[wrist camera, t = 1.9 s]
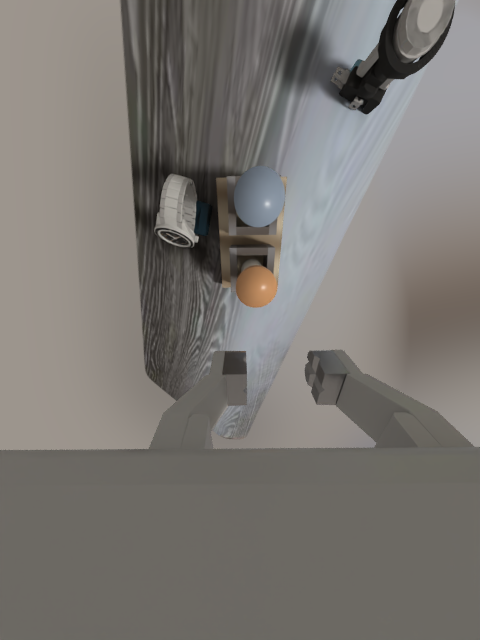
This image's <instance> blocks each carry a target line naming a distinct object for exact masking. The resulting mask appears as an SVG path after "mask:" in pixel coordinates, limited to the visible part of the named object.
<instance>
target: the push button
mask: <svg viewBox="0 0 480 640" xmlns="http://www.w3.org/2000/svg"><path fill="white" fill-rule="evenodd" d="M403 7H404V9H403V11H402V13H401V14H400V15H399V17H398V18H397V16H398V14H399V12H400V10H401V9H402V8H403ZM454 8H455V0H397V1H396V3H395V4H394V6H393V8H392V10H391V12H390V15H389V17H388V20H387V23H386V25H385V26H384V28H383V30H382V32H381V35H380V40H379V43H378V44H377V46H376V47H375V48H374V50H373V51H372V52H371V54H370V55H369V56H368V58H367V59H366V60H365V61H362V60H360V59H359V60H357V61H356V63H355V64H354V66H353V67H352V68H351V70H350V71H349V70H348V69H346V70H344V69H342V68H340V67H339V66H338V67H337V69H336V72H335V73H334V74H333V76H332V79H331V82H332V83H334V84H336V85H338V88H340V89H341V91H340V93H339V94H340V96H342V97H344V98H346V99H348V100H349V101H351V102H352V103H351V104H350V105H349V108H351V109H353V110H356V109H357V108H358V107H359V106H360V107H362V108H363V109H362V112H363V113H365V114H369V113H370V112H371V111H372V110H373V109H374V108H376V107H377V106H378V105H379V104H380V102H381V100H382V98H383V96H384V94H385V92H386V90H387V88H388V87H389V85H390V83H391V82H392V81H393V80H394V79H404V78H406V77H407V76H409V75H411V74H413V73H415V72H417V71H419V70H420V69H421V68H423V67H424V66H425V65H426V64H427V63H428V62H429V61H430V60H431V59H432V58H433V57H434V56H435V55H436V53H437V52H438V50H439V49H440V47H441V45H442V44H443V42H444V40H445V38H446V36H447V34H448V31H449V29H450V26H451V23H452V19H453V15H454ZM420 56H421V57H420ZM418 57H420V59H419V60H418V61H417V62H415V63H413V62H414V61H415V60H416V59H417V58H418ZM339 71H341V75H339V74H338V72H339ZM335 77H336V78H337V81H335V80H334V78H335ZM352 105H355V106H356V107H352Z"/></svg>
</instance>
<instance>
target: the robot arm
mask: <svg viewBox="0 0 480 640" xmlns="http://www.w3.org/2000/svg"><path fill="white" fill-rule="evenodd" d="M307 358H308V360H309V362H308V363H307V364H306V367H305V377H306V381H307V383H308V385H309V386H311V387H312V391H311V393H312V395H313V397H314V399H315V402H316V404H317V405H336V406H337V407H338V408H339V409H340V410H341V411H342V412H343V413H344V414H345V415H347V416H348V417H349V418H350V419H351V420H352V421H353V422H354V423H355V424H357V425H358V426H359V427H360V428H361V429H362V430H363V431H364V432H365V433H366V434H368V435H369V436H370V437H371V438H372V439H373V440H374V441H375V442H376V445H375V447H374V448H280V449H279V448H265V449H213V444H212V437H211V431H212V430H213V428H214V427H215V425H216V424H217V422H218V421H219V419H220V418H221V416H222V415H223V413H224V412H225V410H226V409H227V407H228V406H236V405H247V366H246V351H215V352H214V354H213V359H212V364H211V368H210V373H209V375H206V376H204V377H203V378H202V379H201V380H200V381H199V382H198V383H197V384H196V385H194V386H193V387H192V388H191V389H190V390H189V391H188V392H187V393H185V394H184V395H183V396H182V397H181V398H180V399H179V400H178V401H177V402H175V403H174V404H173V405H172V406H171V407H170V408H169V409H168V410H166V411H165V412H164V413H163V415H162V418H161V420H160V423H159V425H158V428H157V430H156V433H155V435H154V437H153V440H152V442H151V445H150V447H149V449H131V450H130V449H124V450H122V449H120V450H119V449H118V450H0V640H480V447H474V446H473V445H472V444H471V443H470V442H469V441H468V440H467V439H466V438H465V437H464V436H463V435H462V434H460V432H458V431H457V430H456V429H455V428H454V427H453V426H452V425H451V424H450V423H449V422H448V421H447V420H446V419H445V418H444V417H443V416H442V415H440V414H439V413H438V412H437V411H435V410H434V409H432V408H430V407H428V406H426V405H424V404H422V403H420V402H418V401H417V400H414V399H413V398H411V397H409V396H407V395H405V394H404V393H402V392H400V391H398V390H396V389H394V388H392V387H390V386H389V385H387V384H385V383H383V382H381V381H379V380H377V379H376V378H374V377H372V376H370V375H368V374H363V373H362V372H361V371H360V369H359V368H358V367H357V366H356V365H355V363H354V362H353V361H352V360H351V359H350V357H349V356H348V355H347V354H346V353H345V352H344V351H343V350H330V351H309V353H308V356H307Z"/></svg>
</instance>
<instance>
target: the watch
mask: <svg viewBox="0 0 480 640" xmlns="http://www.w3.org/2000/svg"><path fill="white" fill-rule="evenodd" d="M166 206H167V207H166ZM160 207H161V208H160V213H157V220H156V227H155V229H154V232H155V234H156V235H157V236H158V237H159V238H161V239H162V240H164V241H166V242H167V243H170V244H172V245H175V246H178V247H182V248H191V247H193V246H194V242H197V243H198V239H199V237H198V236H195V234H194V233H196V234H199V235H203V236H206V235H208V231H209V225H210V218H211V212H212V206H211V205H210V204H207V203H204V202H201V201H197V194H196V189H195V185H194V182H193V180H192V179H189V178H187V177H184V176H180V175H176V174H170V175H169V176H168V177H167V179H166V182H165V183H164V186H163V190H162V194H161V201H160ZM163 208H164V209H163Z"/></svg>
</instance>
